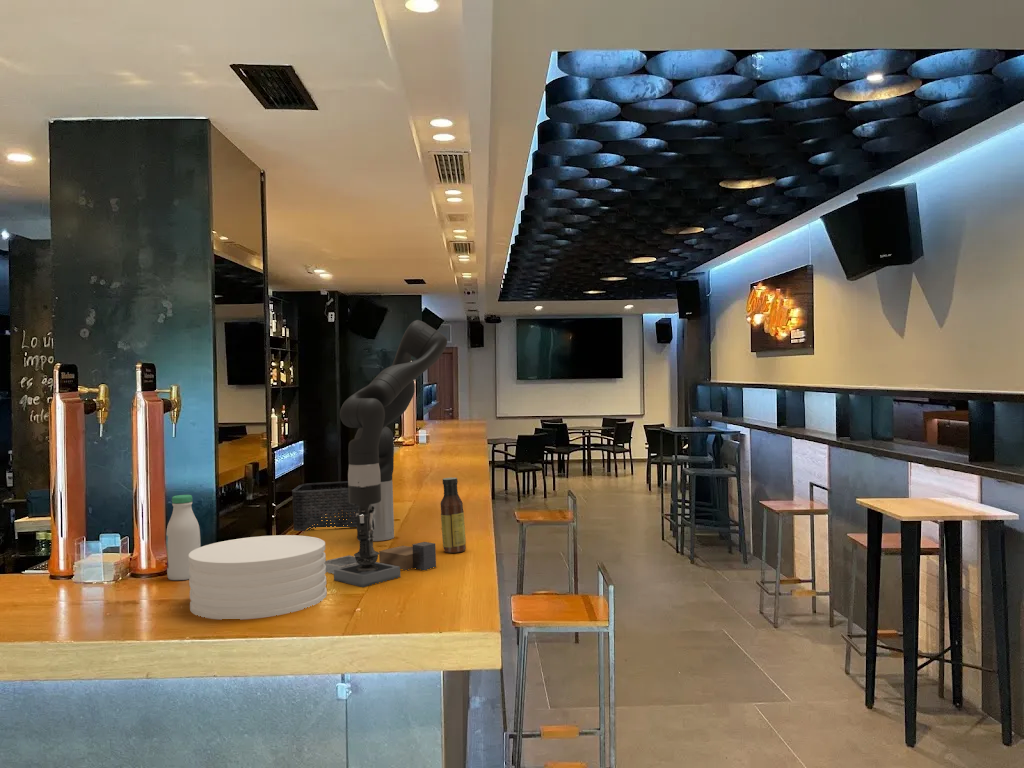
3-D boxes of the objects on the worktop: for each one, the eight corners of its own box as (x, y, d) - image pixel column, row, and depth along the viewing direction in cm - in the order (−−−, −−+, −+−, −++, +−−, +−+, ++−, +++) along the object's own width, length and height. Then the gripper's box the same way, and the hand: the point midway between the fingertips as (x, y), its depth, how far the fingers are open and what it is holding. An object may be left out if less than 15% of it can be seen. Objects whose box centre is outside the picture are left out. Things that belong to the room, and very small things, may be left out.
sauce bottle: (467, 548, 216) (465, 476, 216) (464, 553, 210) (461, 479, 210) (444, 548, 217) (442, 476, 216) (439, 553, 210) (437, 479, 210)
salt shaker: (382, 569, 184) (381, 518, 184) (358, 573, 182) (356, 521, 181) (375, 564, 189) (374, 515, 189) (351, 568, 187) (350, 517, 187)
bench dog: (413, 568, 194) (412, 544, 194) (425, 565, 197) (424, 541, 197) (424, 570, 191) (423, 546, 191) (436, 567, 194) (435, 543, 194)
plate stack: (352, 597, 170) (350, 544, 170) (229, 629, 150) (228, 569, 150) (284, 578, 189) (282, 530, 189) (167, 604, 169) (165, 551, 169)
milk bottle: (208, 574, 194) (205, 493, 194) (183, 582, 187) (180, 498, 187) (185, 572, 198) (183, 493, 198) (160, 579, 191) (157, 497, 191)
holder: (318, 570, 195) (317, 562, 195) (349, 563, 203) (348, 555, 203) (341, 575, 189) (341, 567, 189) (372, 567, 196) (372, 560, 196)
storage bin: (291, 532, 250) (290, 490, 250) (301, 521, 269) (300, 482, 269) (382, 528, 253) (380, 486, 253) (386, 517, 272) (384, 479, 272)
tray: (333, 580, 185) (333, 569, 185) (371, 570, 193) (370, 560, 193) (363, 587, 178) (362, 576, 178) (400, 577, 186) (400, 566, 186)
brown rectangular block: (379, 566, 199) (379, 551, 199) (403, 560, 205) (402, 545, 205) (406, 572, 192) (405, 555, 192) (430, 565, 199) (429, 549, 199)
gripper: (352, 479, 192) (354, 548, 192) (343, 487, 178) (346, 561, 178) (383, 478, 193) (385, 546, 193) (377, 486, 178) (379, 560, 179)
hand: (366, 553), depth 185 cm, fingers open, 6 cm apart
